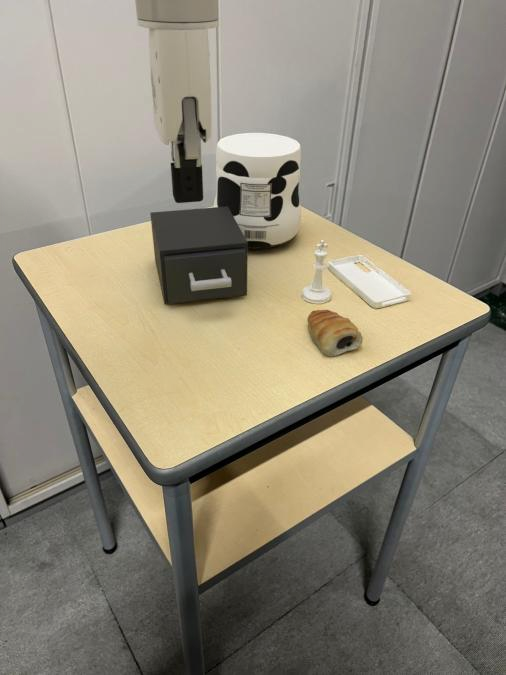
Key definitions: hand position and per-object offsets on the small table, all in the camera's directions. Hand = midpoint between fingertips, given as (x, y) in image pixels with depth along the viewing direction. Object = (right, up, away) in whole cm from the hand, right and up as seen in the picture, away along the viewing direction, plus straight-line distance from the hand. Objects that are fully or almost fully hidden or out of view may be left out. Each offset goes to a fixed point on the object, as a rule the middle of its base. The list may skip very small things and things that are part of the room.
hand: (188, 199), depth 58 cm
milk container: (+8, +5, +46) cm, 47 cm away
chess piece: (+18, -9, +28) cm, 34 cm away
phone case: (+27, -6, +31) cm, 42 cm away
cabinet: (-2, -5, +32) cm, 32 cm away
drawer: (-1, -7, +28) cm, 29 cm away
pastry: (+19, -16, +18) cm, 31 cm away
